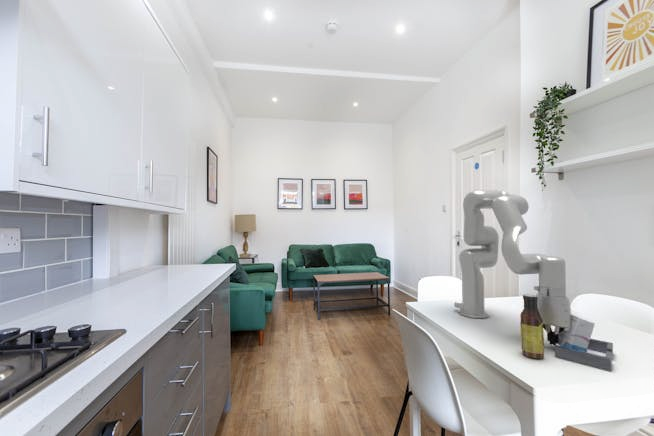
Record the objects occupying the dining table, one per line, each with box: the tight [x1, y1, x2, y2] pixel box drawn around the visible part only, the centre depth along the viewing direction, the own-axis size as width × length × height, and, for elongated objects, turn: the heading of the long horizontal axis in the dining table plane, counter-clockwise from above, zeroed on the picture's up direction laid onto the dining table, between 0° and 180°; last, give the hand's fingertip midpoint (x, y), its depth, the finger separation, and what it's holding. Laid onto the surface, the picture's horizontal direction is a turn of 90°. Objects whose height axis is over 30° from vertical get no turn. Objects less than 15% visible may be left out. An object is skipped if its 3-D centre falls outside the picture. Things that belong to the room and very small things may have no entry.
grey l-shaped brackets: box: [554, 338, 614, 372], centre depth 97 cm, size 13×16×4 cm
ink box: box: [556, 312, 596, 352], centre depth 99 cm, size 9×5×12 cm, turn 170°
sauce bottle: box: [519, 293, 545, 360], centre depth 97 cm, size 7×6×20 cm
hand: (553, 343), depth 102 cm, fingers closed
